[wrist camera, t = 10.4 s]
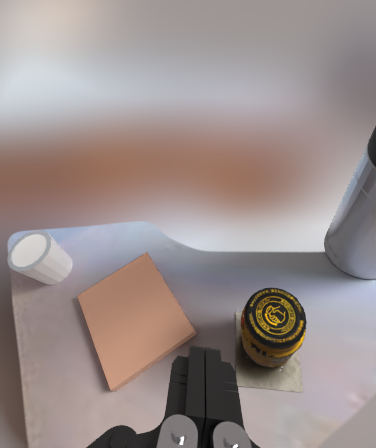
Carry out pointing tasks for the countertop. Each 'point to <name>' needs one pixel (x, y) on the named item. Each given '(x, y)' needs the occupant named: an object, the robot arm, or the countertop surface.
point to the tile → (133, 320)
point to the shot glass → (40, 258)
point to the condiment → (270, 341)
